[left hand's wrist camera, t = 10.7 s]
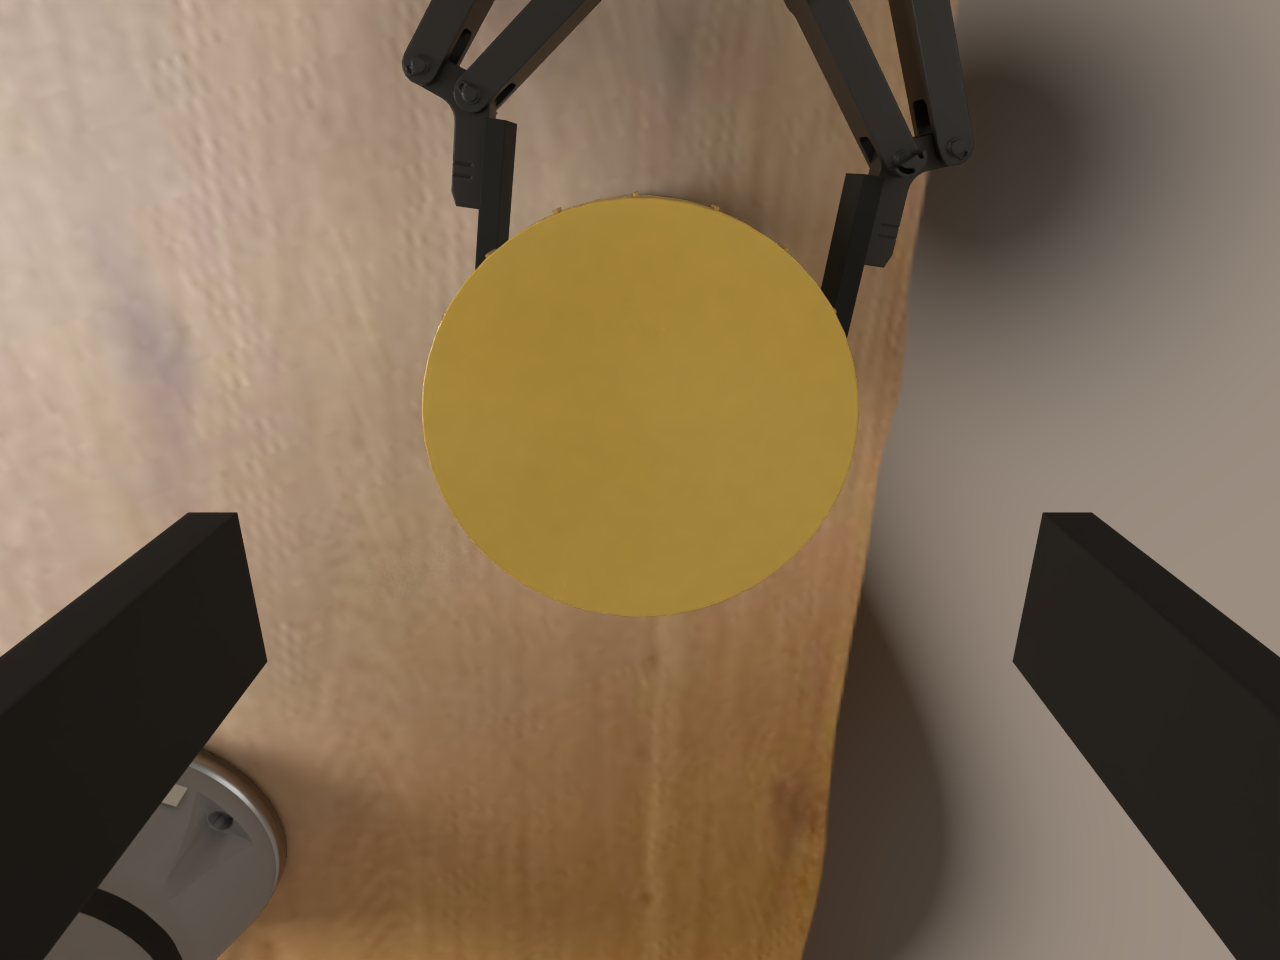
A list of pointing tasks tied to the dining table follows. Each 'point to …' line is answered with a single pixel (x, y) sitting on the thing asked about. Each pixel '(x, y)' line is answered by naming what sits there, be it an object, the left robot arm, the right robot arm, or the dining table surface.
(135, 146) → the dining table surface
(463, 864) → the dining table surface
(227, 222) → the dining table surface
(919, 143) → the right robot arm
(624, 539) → the lid
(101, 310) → the dining table surface
